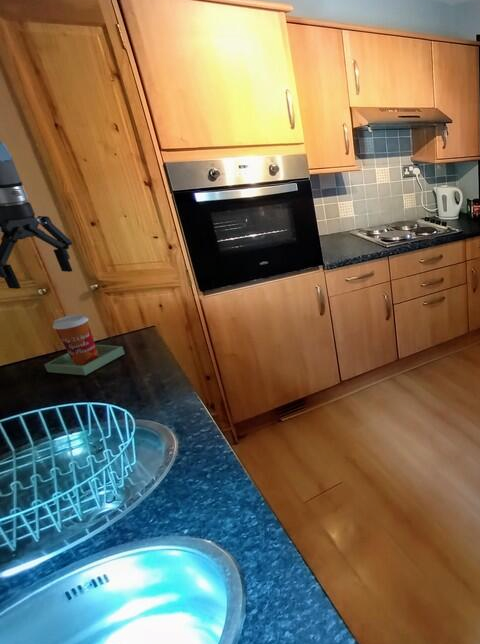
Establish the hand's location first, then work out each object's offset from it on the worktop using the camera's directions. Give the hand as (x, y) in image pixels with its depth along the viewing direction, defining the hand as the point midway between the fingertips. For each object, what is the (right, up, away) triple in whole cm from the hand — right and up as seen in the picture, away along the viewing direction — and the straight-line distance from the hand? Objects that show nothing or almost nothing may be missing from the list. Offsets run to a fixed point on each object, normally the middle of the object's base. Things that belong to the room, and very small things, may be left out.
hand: (42, 279), depth 126 cm
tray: (+3, -25, +10) cm, 27 cm away
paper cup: (+3, -24, +10) cm, 27 cm away
